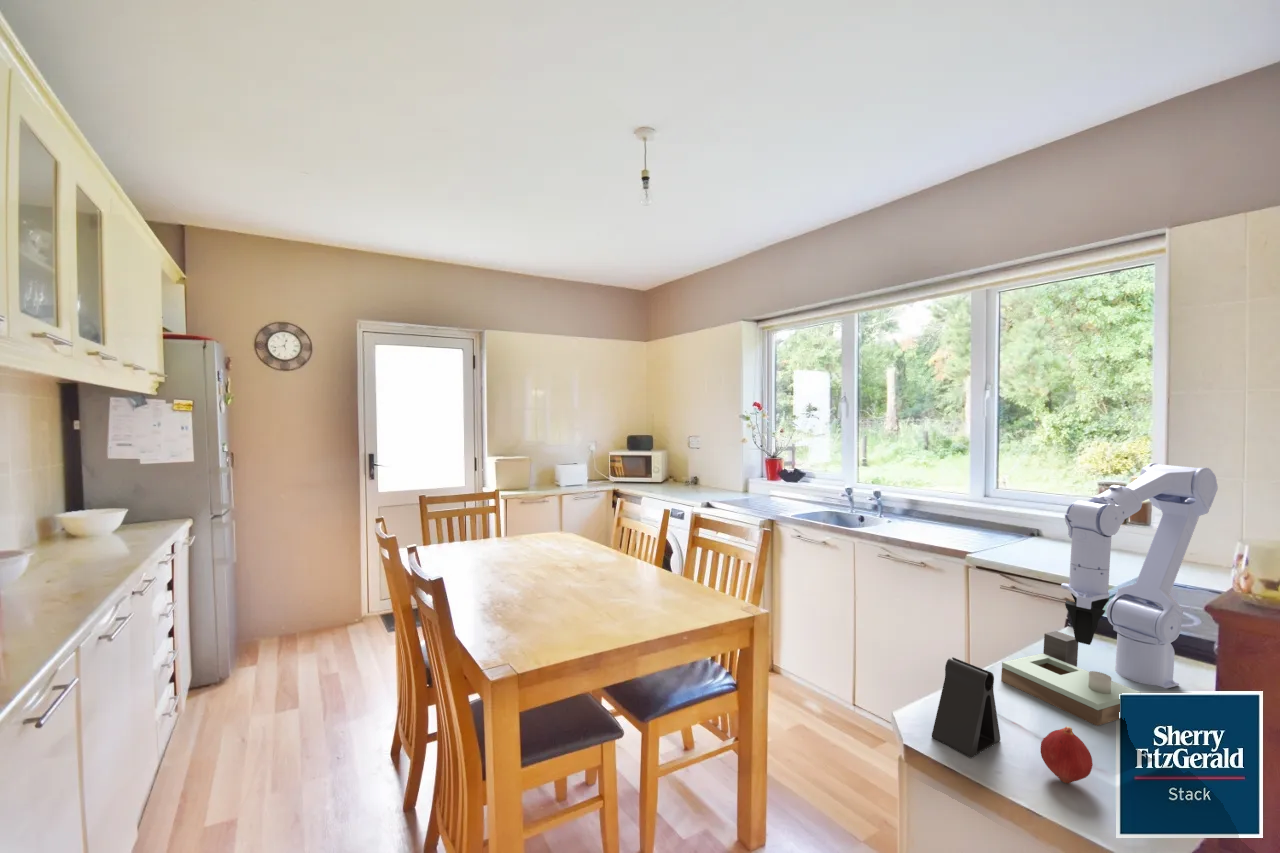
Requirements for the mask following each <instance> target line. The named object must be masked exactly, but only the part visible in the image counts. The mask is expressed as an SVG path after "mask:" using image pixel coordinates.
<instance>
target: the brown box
mask: <svg viewBox="0 0 1280 853" xmlns="http://www.w3.org/2000/svg"><path fill="white" fill-rule="evenodd" d="M1038 666H1040V667H1042V668H1045V669H1047V670H1050V671H1052V672H1054V673H1057V674H1059V675H1063V674H1067V673H1071V672H1068V671H1066V670H1063V669H1061V668H1059V667H1056V666H1054V665H1051V664H1049V663H1045V664H1041V665H1038ZM1000 681H1001V682H1003V683H1004V684H1007V685H1009V686H1010V687H1013V688H1015V689H1017V690H1019V691H1022V692H1024V693H1026V694H1028V695H1031V696H1033V697H1034V698H1036V699H1039V700H1041V701H1043V702H1045V703H1048V704H1050V705H1051V706H1054V707H1056V708H1058V709H1060V710H1062V711H1065V712H1066V713H1067V714H1068V713H1069V714H1070V715H1072V716H1074V717H1076V718H1079V719H1081V720H1083V721H1085V722H1088V723H1089V724H1091V725H1094V726H1096V727H1098V726H1102V725H1105V724H1108V723H1112V722H1114V721H1115V722H1116V721H1117V720H1120V719H1119V712H1120V704H1118V705H1114V706H1111V707H1108V708H1104V709H1101V710H1096V709H1094V708H1092V707H1089V706H1087V705H1085V704H1083V703H1080V702H1078V701H1076V700H1074V699H1072V698H1069V697H1067V696H1065V695H1063V694H1060V693H1058V692H1056V691H1054V690H1051V689H1049V688H1047V687H1045V686H1043V685H1040V684H1038V683H1036V682H1034V681H1031V680H1029V679H1027V678H1025V677H1022V676H1020V675H1018V674H1016V673H1014V672H1011V671H1009V670H1007V669H1005V668H1002V667H1001V679H1000Z"/></svg>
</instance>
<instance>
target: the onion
mask: <svg viewBox="0 0 1280 853" xmlns="http://www.w3.org/2000/svg"><path fill="white" fill-rule="evenodd" d="M1040 755H1041V758H1042V761H1043V762H1044V763H1045V765H1046V767H1047V768H1048V769H1049V770H1050V771H1051V773H1053V775H1055V776H1056V777H1057V778H1058V779H1059V780H1060V781H1061V782H1062V783H1064V784H1071V783H1074V782H1077V781H1080V780H1083V779H1085V778H1087V777H1088V776H1089V775H1090V774H1091V772H1092V769H1093V758H1092V757H1093V756H1092V754H1091V752H1090V750H1089V748H1088V747H1087V746H1086V744H1085V743H1084V741H1082V740H1081V738H1079V737H1078V736H1077V735H1076V734H1074V733H1073V728H1072V727H1070V726H1065V727H1064V728H1061V729H1057V730H1053V731H1050V732H1049V733H1048V734H1047V735H1046V736H1045V737H1044V738H1042V740H1041V742H1040Z"/></svg>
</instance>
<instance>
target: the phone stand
mask: <svg viewBox="0 0 1280 853" xmlns="http://www.w3.org/2000/svg"><path fill="white" fill-rule="evenodd" d="M944 670H945V671H944V681H943V686H942V689H941V693H940V699H939V701H938V702H939V703H938V707H937V711H936V714H935V720H934V725H933V727H932V728H933V729H932V732H931V738H933V739H934V738H935V740H936V739H937V740H936V741H938V742H940V743H942V744H944V745H946V746H948V747H949V748H951V749H953V750H955V751H957V752H959V753H960V754H962V755H964V756H967V757H968V758H970V759H973V758H974V757H976V756H977V755H979V754H981V753H983V752H984V751H986V750H987V748H988V749H989V748H991V747H993V746H995V745H996V744H998V743H999V742H1001V735H1000V734H1001V733H1000V727H999V720H998V714H997V706H996V699H995V694H994V685H995V684H994V683H995V676H994V673H993V672H991V671H988V670H986V669H984V668H981V667H978V666H975V665H973V664H970V663H968V662H965V661H963V660H960V659H958V658H956V657H954V656H953V657H951V658H948V659H947V661H946V662H945V666H944ZM994 744H995V745H994ZM992 745H993V746H992ZM982 751H983V752H982ZM980 752H981V753H980Z"/></svg>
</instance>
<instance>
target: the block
mask: <svg viewBox="0 0 1280 853" xmlns="http://www.w3.org/2000/svg"><path fill="white" fill-rule="evenodd" d="M1042 652H1043V654H1045V655H1048V656H1051V657H1053V658H1056V659H1058V660H1061V661H1063V662H1066V663H1068V664H1071V665H1073V666H1076V667H1078V656H1079V655H1078V654H1079V653H1078V652H1079V642H1076V640H1075V636H1072V635H1069V634H1066V633H1063V632H1062V631H1061V632H1060V631H1058V630H1054V631H1051V632H1047V633H1046V632H1045V633H1044V638H1043V651H1042Z"/></svg>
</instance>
